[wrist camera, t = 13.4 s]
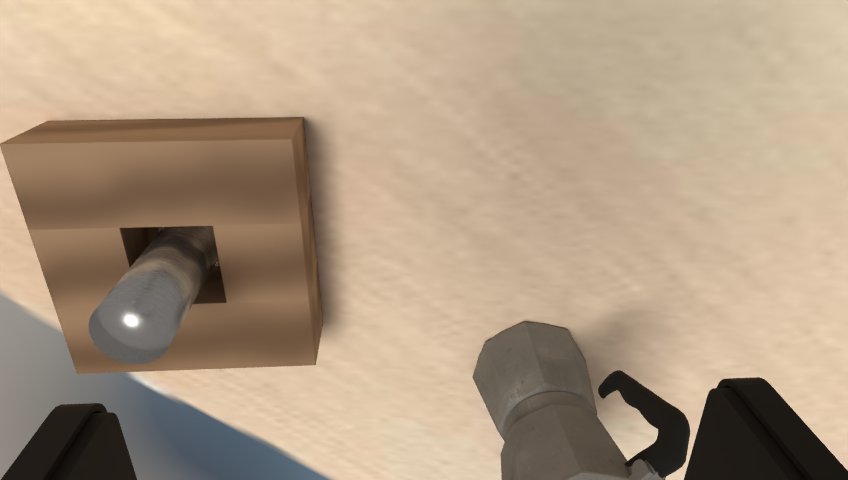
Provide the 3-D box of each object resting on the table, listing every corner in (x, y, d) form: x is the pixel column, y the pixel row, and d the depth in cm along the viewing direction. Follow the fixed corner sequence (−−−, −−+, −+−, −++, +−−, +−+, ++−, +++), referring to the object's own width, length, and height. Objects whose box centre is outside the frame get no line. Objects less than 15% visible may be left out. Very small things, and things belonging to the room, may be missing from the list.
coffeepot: (518, 439, 51) (580, 664, 35) (434, 393, 48) (457, 615, 32) (644, 319, 46) (784, 516, 30) (558, 259, 43) (661, 441, 27)
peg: (163, 206, 39) (79, 300, 28) (223, 205, 39) (161, 298, 29) (175, 258, 41) (99, 365, 30) (232, 256, 41) (177, 362, 30)
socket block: (47, 120, 36) (-1, 144, 32) (303, 117, 37) (291, 139, 32) (109, 330, 43) (77, 373, 39) (322, 323, 44) (315, 364, 40)
